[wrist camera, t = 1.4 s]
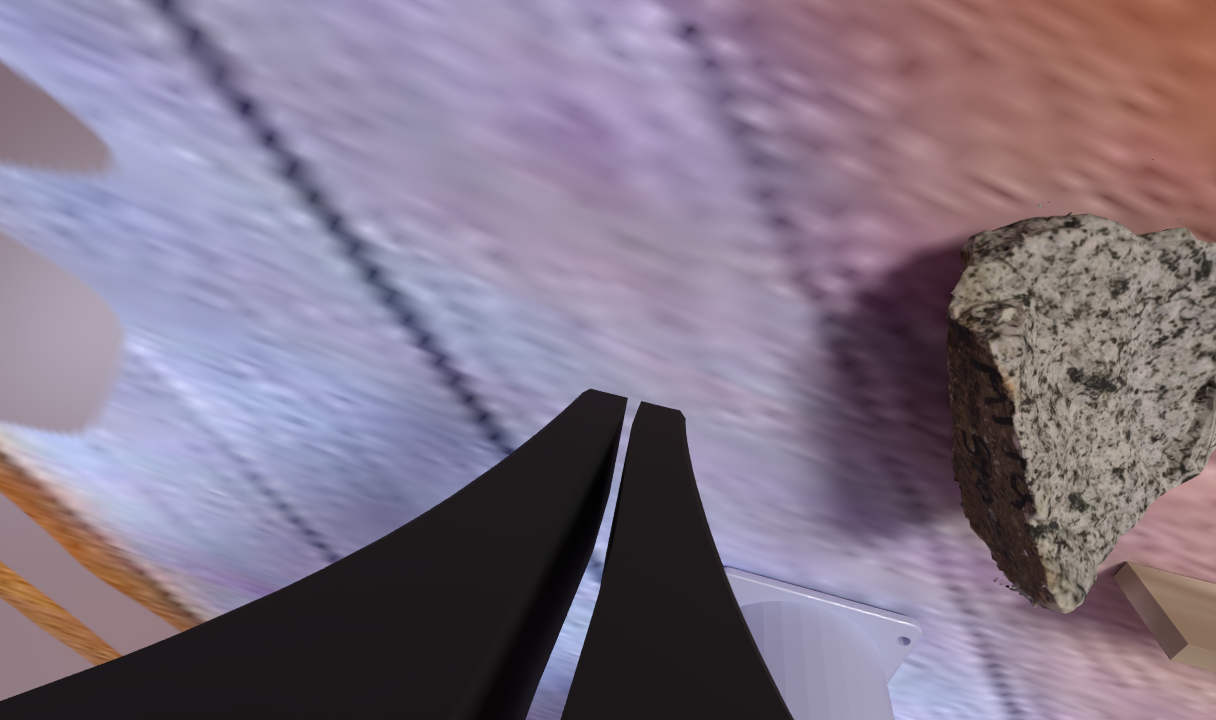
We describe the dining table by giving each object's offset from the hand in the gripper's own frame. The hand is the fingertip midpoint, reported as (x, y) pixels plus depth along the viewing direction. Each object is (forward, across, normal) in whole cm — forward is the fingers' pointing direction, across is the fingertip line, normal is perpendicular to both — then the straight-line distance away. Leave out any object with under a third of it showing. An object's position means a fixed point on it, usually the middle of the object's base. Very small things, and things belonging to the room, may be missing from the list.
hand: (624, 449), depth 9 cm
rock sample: (+10, -11, 0) cm, 15 cm away
